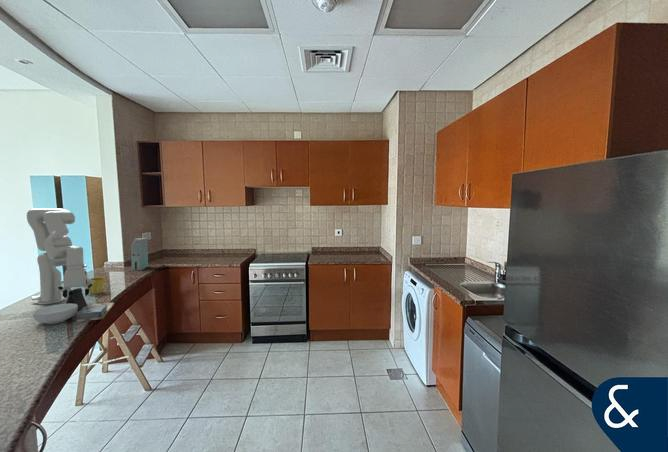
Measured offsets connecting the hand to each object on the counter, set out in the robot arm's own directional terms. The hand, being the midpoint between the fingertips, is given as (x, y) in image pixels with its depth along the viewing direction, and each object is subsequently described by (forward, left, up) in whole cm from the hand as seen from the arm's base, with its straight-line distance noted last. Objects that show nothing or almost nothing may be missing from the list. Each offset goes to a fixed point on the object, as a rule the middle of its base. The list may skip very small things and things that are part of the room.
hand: (76, 296), depth 167 cm
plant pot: (0, +37, -8) cm, 37 cm away
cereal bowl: (-3, -18, -8) cm, 20 cm away
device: (+15, +119, -8) cm, 120 cm away
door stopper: (-1, +1, -8) cm, 8 cm away
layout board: (+12, -10, -8) cm, 18 cm away
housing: (+12, -18, -6) cm, 23 cm away
